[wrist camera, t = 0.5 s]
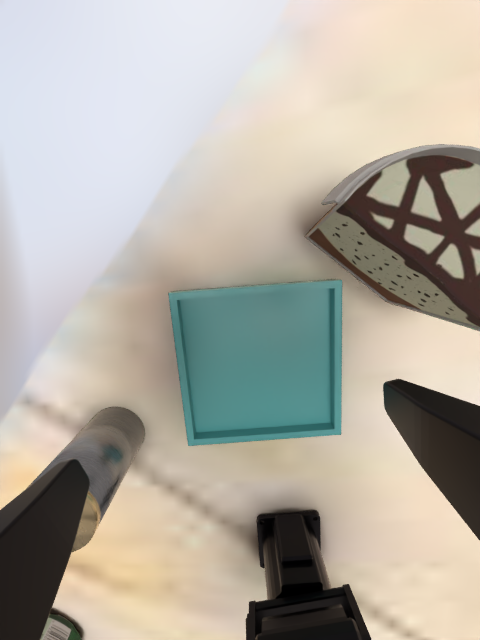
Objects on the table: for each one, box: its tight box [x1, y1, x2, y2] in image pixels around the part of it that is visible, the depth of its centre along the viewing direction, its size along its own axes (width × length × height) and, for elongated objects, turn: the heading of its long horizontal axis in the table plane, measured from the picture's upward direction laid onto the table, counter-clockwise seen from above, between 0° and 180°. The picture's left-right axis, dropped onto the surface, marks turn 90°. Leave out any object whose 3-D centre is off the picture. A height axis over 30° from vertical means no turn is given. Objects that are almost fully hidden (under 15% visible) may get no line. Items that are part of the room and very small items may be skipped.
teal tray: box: [168, 279, 342, 446], centre depth 23 cm, size 14×14×2 cm
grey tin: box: [29, 407, 145, 552], centre depth 21 cm, size 5×5×9 cm
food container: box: [305, 144, 480, 331], centre depth 17 cm, size 12×6×10 cm, turn 54°
